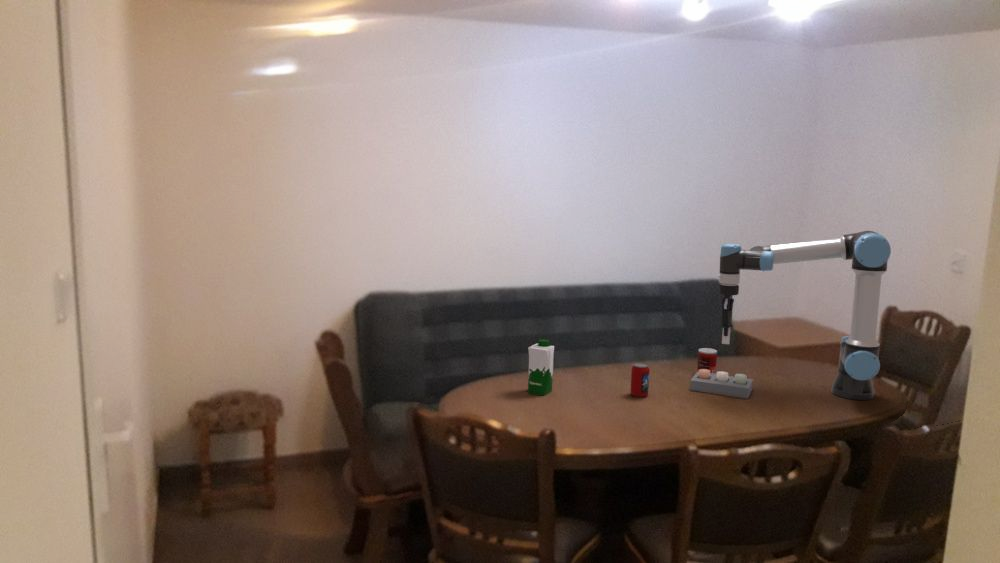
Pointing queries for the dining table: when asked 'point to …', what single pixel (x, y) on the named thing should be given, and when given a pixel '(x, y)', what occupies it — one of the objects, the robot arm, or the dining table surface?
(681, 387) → the dining table surface
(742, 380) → the button sage
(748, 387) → the console
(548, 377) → the milk carton
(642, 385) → the beverage can
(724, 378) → the button cream
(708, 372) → the button terracotta
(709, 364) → the canned food
